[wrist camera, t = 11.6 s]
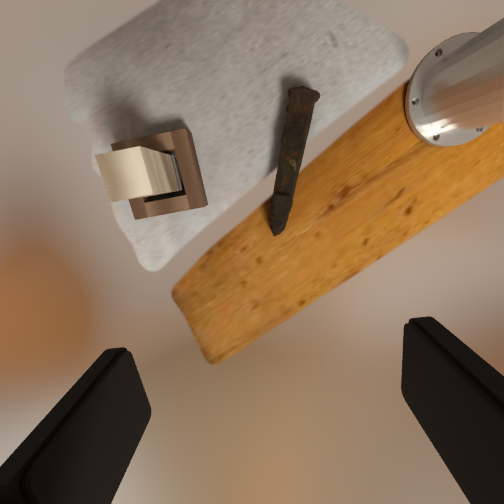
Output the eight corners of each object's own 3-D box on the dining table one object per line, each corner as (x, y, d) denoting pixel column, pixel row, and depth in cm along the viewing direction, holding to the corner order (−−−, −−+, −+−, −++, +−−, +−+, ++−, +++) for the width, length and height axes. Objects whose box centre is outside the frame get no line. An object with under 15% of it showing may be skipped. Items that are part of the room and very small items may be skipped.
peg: (178, 156, 34) (139, 145, 23) (186, 189, 36) (153, 194, 24) (147, 162, 35) (94, 154, 23) (156, 195, 36) (110, 202, 25)
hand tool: (287, 92, 32) (292, 78, 28) (316, 99, 32) (325, 86, 28) (255, 229, 38) (255, 235, 33) (280, 234, 38) (284, 241, 33)
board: (191, 132, 34) (185, 128, 31) (208, 204, 36) (203, 206, 33) (122, 147, 34) (110, 143, 31) (144, 216, 37) (135, 219, 34)
